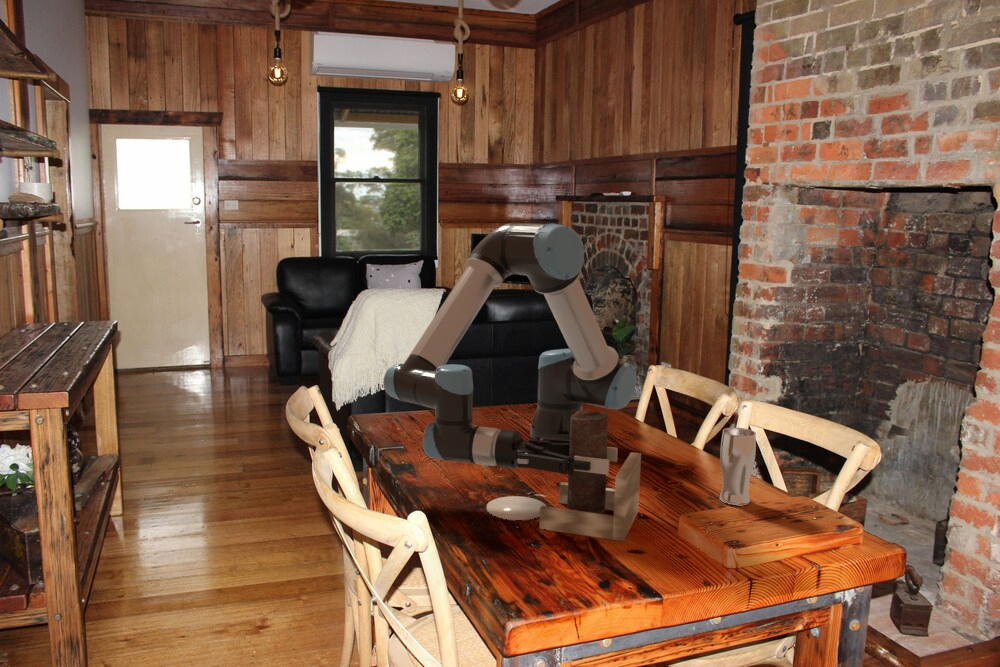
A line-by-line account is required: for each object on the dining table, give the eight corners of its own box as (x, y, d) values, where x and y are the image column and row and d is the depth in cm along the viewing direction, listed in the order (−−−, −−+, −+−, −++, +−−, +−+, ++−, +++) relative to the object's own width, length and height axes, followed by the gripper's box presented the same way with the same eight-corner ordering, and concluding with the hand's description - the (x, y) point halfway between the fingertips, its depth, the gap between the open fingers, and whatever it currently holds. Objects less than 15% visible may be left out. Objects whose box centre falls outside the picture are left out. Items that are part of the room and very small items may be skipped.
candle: (594, 522, 156) (598, 419, 153) (559, 514, 160) (562, 413, 157) (611, 510, 163) (615, 411, 160) (577, 502, 167) (580, 405, 163)
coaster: (511, 494, 174) (511, 492, 174) (558, 508, 167) (558, 505, 167) (474, 510, 165) (474, 507, 165) (522, 525, 158) (522, 523, 158)
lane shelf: (539, 528, 156) (540, 467, 154) (560, 500, 171) (562, 444, 169) (623, 541, 151) (626, 478, 149) (638, 511, 166) (641, 453, 164)
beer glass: (711, 501, 173) (715, 431, 170) (727, 493, 178) (731, 425, 175) (742, 510, 168) (747, 438, 166) (757, 501, 173) (762, 431, 171)
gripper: (514, 451, 175) (622, 464, 168) (481, 481, 157) (601, 497, 149) (514, 417, 174) (623, 428, 167) (481, 443, 155) (602, 457, 148)
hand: (612, 460), depth 158 cm, fingers closed on candle, 7 cm apart
